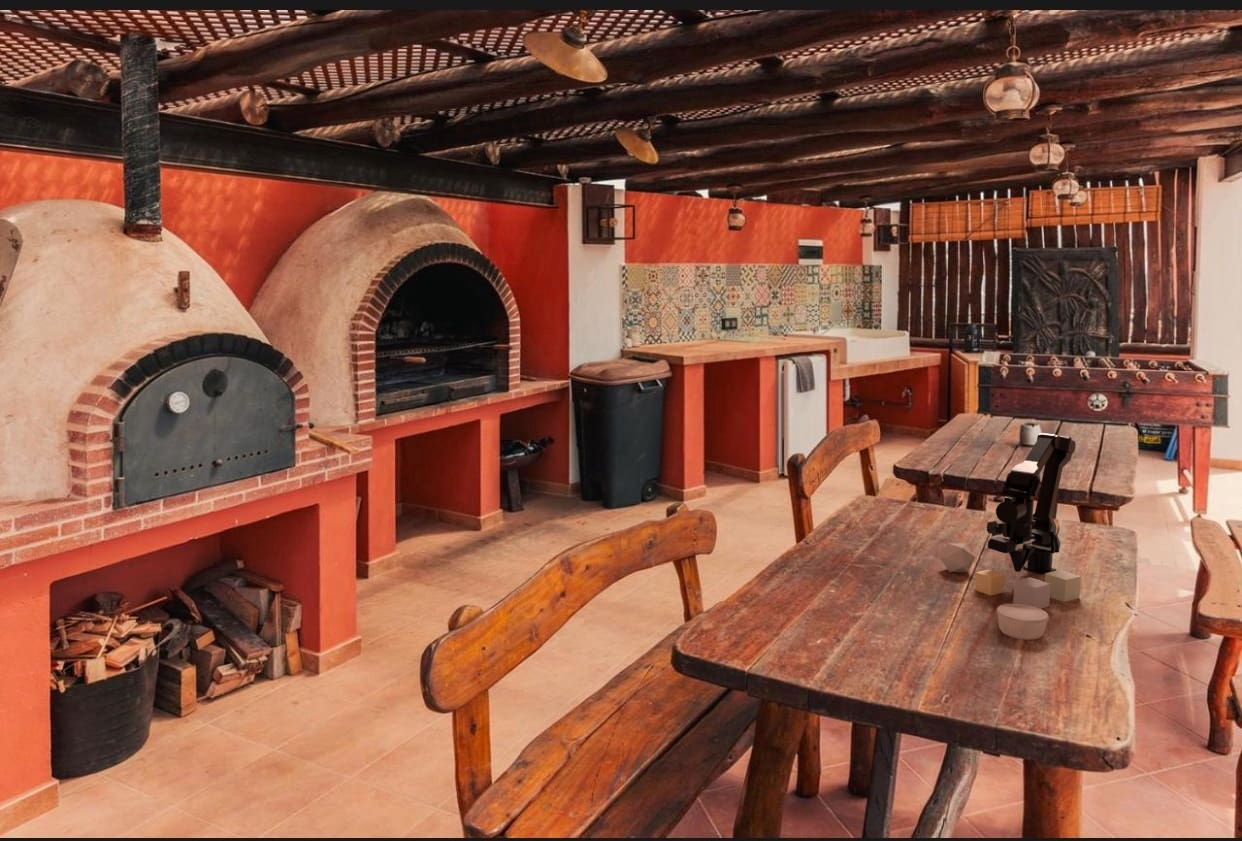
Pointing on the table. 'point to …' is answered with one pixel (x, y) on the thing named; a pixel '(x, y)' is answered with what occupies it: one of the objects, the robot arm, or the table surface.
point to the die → (957, 557)
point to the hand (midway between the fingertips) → (1017, 571)
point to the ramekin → (1022, 621)
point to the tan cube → (1063, 585)
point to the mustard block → (989, 582)
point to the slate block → (1032, 592)
